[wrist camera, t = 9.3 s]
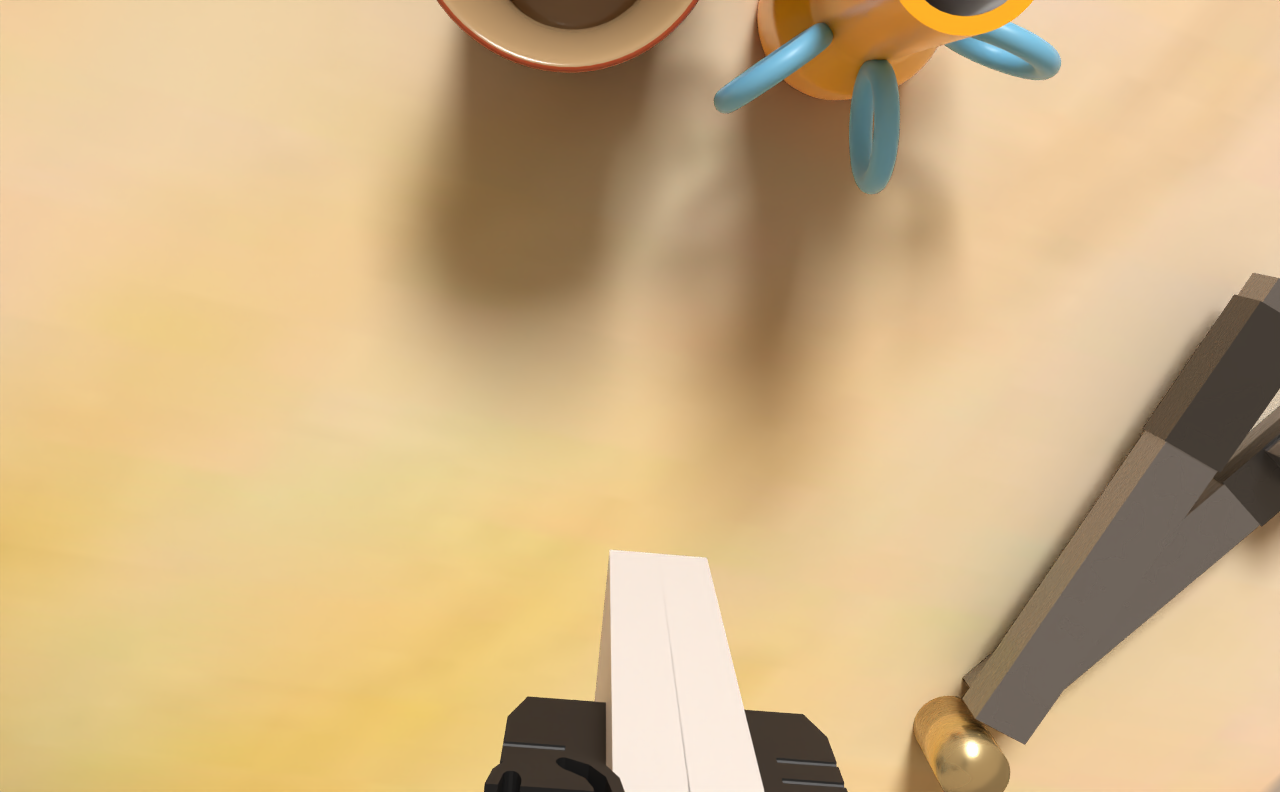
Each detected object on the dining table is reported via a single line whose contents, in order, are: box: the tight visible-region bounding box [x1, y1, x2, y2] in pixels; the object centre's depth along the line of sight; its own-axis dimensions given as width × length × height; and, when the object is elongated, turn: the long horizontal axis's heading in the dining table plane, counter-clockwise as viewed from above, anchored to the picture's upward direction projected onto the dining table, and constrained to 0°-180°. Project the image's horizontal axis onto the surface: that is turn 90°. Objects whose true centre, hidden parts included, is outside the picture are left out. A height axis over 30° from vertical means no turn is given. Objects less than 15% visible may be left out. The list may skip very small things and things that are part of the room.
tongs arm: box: [962, 273, 1280, 744], centre depth 42 cm, size 20×3×2 cm, turn 151°
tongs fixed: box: [914, 406, 1280, 792], centre depth 43 cm, size 23×3×4 cm, turn 134°
